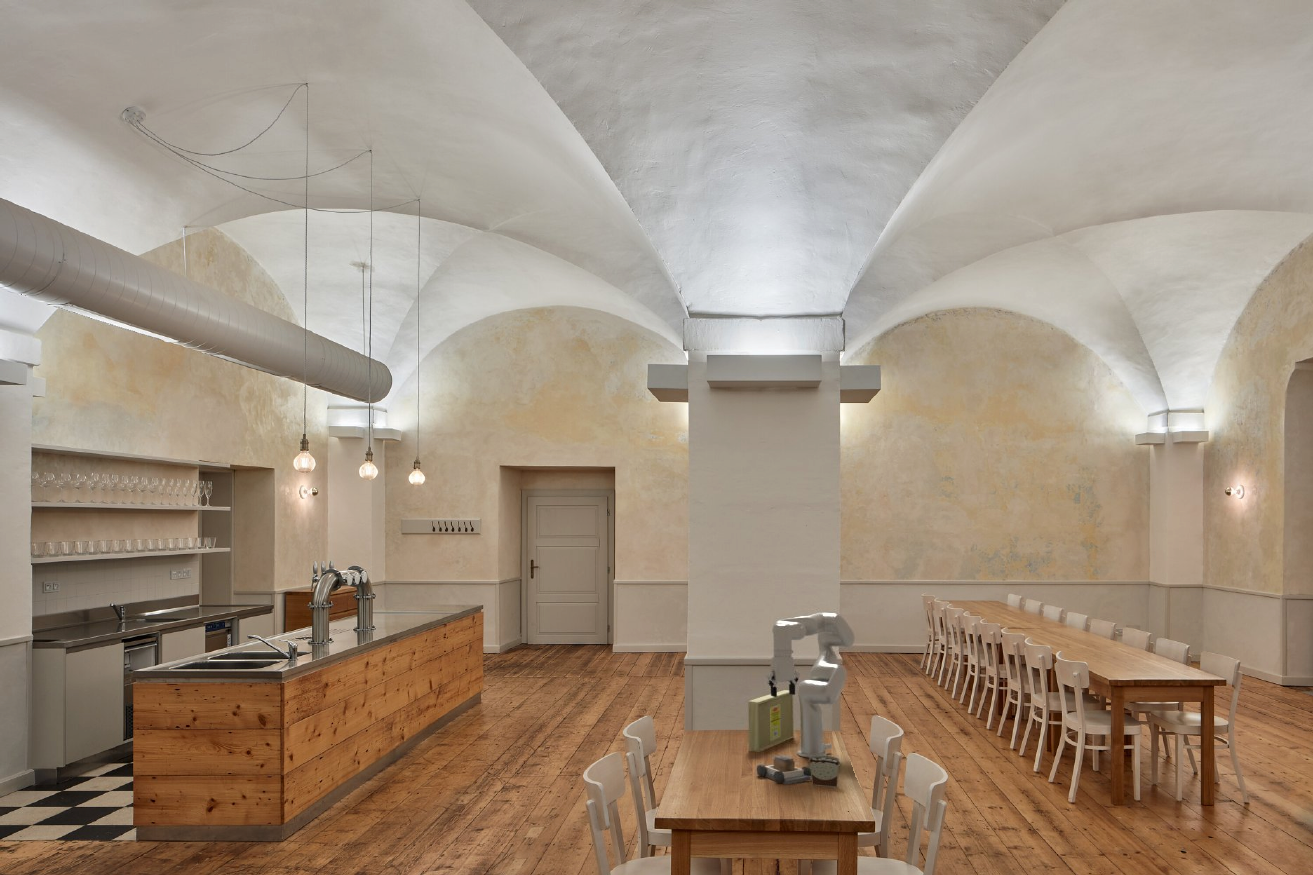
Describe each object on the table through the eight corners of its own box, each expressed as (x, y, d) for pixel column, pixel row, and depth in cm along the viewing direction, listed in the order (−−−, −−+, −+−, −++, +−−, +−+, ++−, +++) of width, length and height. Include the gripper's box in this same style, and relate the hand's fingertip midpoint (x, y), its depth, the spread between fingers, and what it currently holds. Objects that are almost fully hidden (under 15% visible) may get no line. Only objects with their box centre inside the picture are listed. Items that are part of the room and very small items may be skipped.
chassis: (784, 769, 377) (784, 758, 377) (813, 779, 361) (813, 768, 362) (754, 774, 369) (754, 763, 369) (783, 785, 354) (783, 773, 354)
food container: (843, 783, 356) (842, 756, 357) (841, 787, 351) (840, 760, 352) (811, 780, 360) (810, 754, 361) (808, 784, 355) (808, 757, 356)
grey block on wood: (783, 770, 370) (783, 754, 370) (794, 774, 364) (794, 758, 364) (773, 771, 367) (773, 756, 368) (784, 775, 361) (784, 760, 362)
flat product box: (785, 736, 438) (784, 689, 440) (794, 738, 435) (793, 690, 437) (748, 750, 409) (748, 700, 411) (757, 752, 406) (757, 701, 409)
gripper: (793, 651, 396) (793, 692, 394) (760, 653, 387) (761, 695, 386) (804, 653, 390) (805, 694, 388) (771, 655, 381) (772, 698, 379)
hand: (783, 695), depth 387 cm, fingers open, 9 cm apart
